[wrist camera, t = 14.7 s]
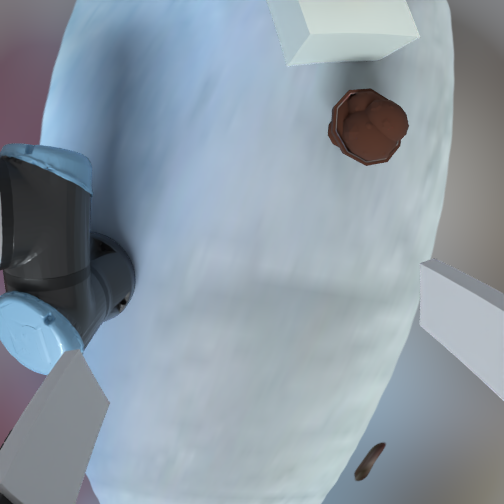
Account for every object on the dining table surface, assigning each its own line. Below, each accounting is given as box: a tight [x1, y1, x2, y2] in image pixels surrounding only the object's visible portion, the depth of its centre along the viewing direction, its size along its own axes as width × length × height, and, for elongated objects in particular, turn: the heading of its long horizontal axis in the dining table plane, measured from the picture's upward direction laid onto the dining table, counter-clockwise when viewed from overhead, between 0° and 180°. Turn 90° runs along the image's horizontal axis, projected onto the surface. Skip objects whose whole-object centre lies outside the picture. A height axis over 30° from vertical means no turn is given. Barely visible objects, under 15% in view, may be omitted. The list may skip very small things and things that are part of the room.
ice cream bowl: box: [328, 89, 409, 166], centre depth 39 cm, size 11×11×15 cm
